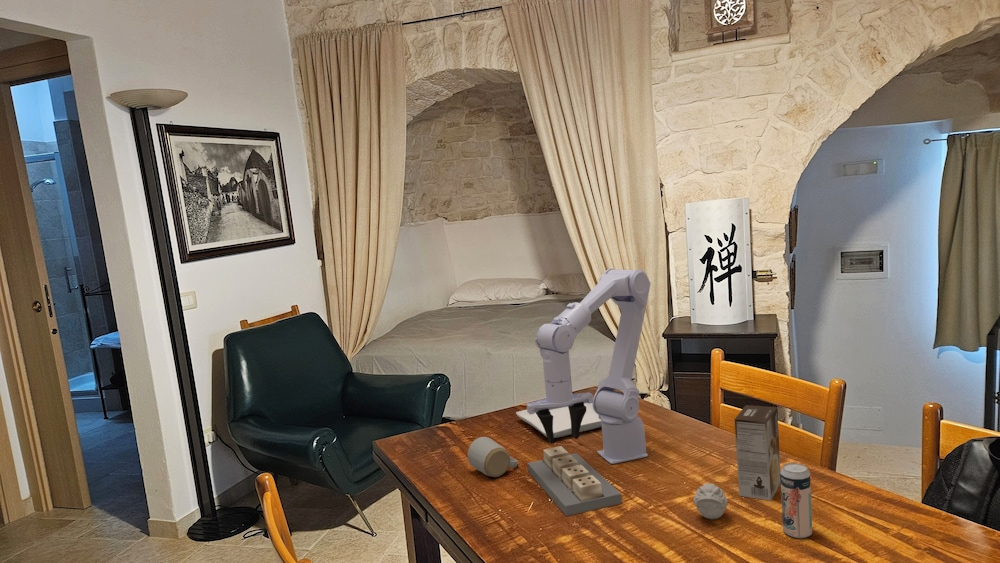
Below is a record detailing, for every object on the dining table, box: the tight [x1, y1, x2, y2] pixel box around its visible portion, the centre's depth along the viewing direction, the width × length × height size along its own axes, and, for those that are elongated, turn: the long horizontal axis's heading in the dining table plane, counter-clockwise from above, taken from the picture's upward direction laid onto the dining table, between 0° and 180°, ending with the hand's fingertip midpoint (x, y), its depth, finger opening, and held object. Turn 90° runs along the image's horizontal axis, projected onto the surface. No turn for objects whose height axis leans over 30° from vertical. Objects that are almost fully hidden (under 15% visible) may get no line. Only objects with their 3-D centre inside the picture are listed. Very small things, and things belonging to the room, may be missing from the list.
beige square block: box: [572, 475, 602, 502], centre depth 137 cm, size 4×4×3 cm
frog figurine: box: [693, 482, 729, 520], centre depth 126 cm, size 6×7×7 cm
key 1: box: [542, 445, 569, 469], centre depth 154 cm, size 4×4×3 cm
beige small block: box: [562, 465, 590, 490], centre depth 143 cm, size 4×4×3 cm
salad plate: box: [515, 403, 602, 439], centre depth 185 cm, size 21×21×3 cm
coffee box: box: [734, 404, 781, 501], centre depth 135 cm, size 9×6×16 cm
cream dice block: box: [552, 454, 578, 479], centre depth 148 cm, size 4×4×3 cm
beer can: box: [780, 462, 814, 539], centre depth 118 cm, size 5×5×12 cm
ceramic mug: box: [467, 436, 519, 478], centre depth 157 cm, size 11×8×8 cm
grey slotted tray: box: [526, 452, 623, 517], centre depth 146 cm, size 12×24×2 cm, turn 16°
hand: (563, 439), depth 148 cm, fingers open, 5 cm apart
